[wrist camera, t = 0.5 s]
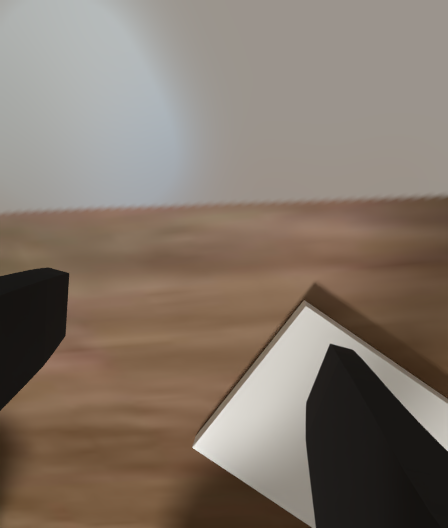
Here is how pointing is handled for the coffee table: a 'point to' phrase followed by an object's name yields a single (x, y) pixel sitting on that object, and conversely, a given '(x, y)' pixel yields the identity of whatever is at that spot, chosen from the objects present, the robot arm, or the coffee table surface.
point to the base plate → (298, 409)
